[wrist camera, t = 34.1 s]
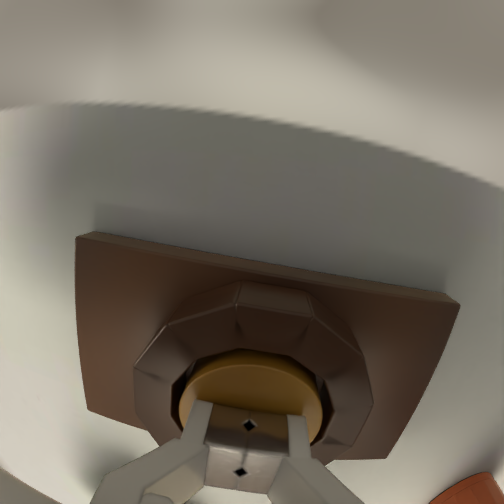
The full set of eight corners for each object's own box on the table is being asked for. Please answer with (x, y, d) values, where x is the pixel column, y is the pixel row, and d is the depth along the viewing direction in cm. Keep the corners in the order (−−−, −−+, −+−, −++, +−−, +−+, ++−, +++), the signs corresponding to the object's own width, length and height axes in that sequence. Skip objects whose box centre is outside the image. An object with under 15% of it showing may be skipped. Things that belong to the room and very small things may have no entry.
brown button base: (445, 293, 10) (490, 326, 7) (380, 441, 12) (396, 488, 9) (92, 230, 10) (40, 247, 7) (98, 395, 12) (68, 436, 9)
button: (330, 343, 9) (341, 376, 7) (298, 435, 10) (301, 470, 8) (197, 321, 9) (182, 350, 7) (188, 417, 10) (176, 451, 8)
